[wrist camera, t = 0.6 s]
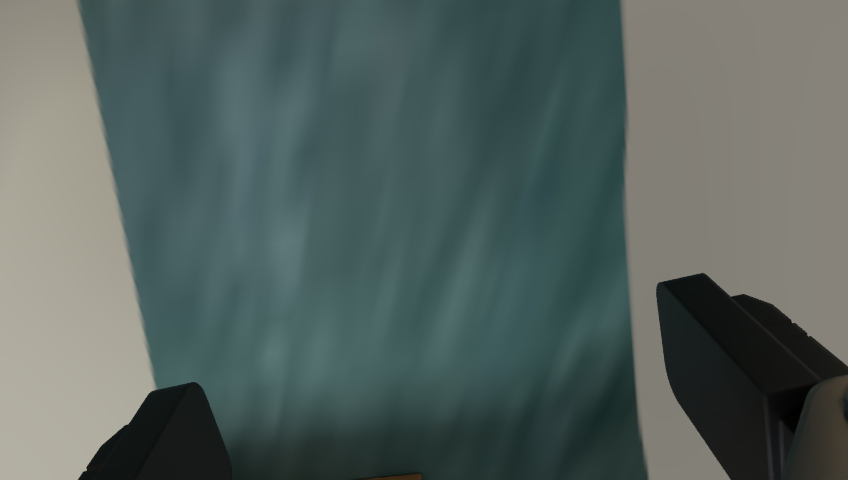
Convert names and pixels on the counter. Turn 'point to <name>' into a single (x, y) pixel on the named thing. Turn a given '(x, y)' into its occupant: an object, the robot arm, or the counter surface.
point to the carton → (399, 477)
